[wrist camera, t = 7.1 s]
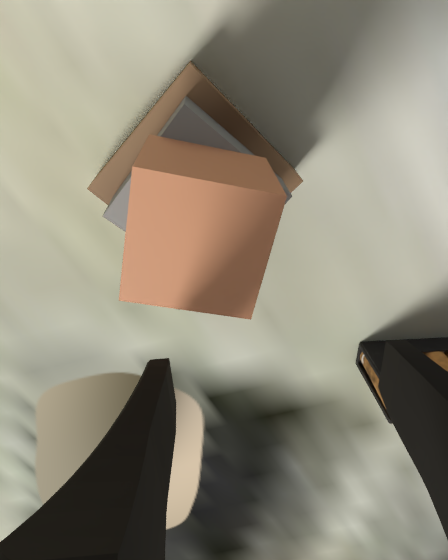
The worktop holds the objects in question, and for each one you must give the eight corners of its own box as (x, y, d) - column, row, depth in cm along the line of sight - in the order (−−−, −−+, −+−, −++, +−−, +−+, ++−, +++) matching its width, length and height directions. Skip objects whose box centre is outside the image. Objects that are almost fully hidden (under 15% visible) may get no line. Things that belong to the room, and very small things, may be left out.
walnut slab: (292, 166, 21) (303, 181, 19) (200, 256, 24) (201, 278, 22) (190, 60, 19) (189, 63, 17) (98, 173, 21) (87, 188, 19)
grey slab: (281, 178, 19) (292, 196, 17) (206, 261, 21) (207, 287, 19) (185, 95, 17) (184, 103, 15) (113, 195, 19) (102, 216, 17)
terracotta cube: (265, 157, 16) (287, 195, 12) (239, 259, 18) (250, 319, 14) (149, 134, 15) (132, 166, 12) (136, 242, 18) (118, 300, 14)
